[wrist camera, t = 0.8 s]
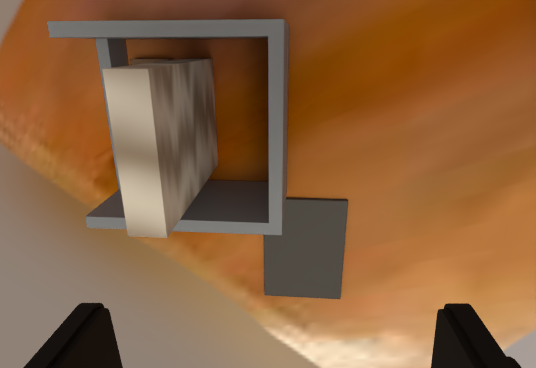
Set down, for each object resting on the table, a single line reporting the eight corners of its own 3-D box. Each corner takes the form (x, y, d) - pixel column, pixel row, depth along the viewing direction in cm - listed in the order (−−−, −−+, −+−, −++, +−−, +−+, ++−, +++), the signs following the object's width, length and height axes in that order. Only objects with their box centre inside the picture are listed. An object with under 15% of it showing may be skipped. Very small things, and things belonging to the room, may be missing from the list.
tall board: (185, 58, 40) (102, 69, 24) (212, 58, 40) (147, 68, 23) (193, 163, 45) (127, 236, 28) (218, 164, 44) (166, 237, 28)
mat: (264, 196, 45) (263, 198, 45) (347, 199, 44) (348, 201, 44) (265, 292, 50) (264, 295, 50) (339, 296, 49) (340, 299, 49)
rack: (112, 27, 40) (47, 21, 30) (289, 25, 38) (284, 19, 28) (135, 186, 46) (87, 227, 36) (286, 191, 45) (281, 235, 35)
